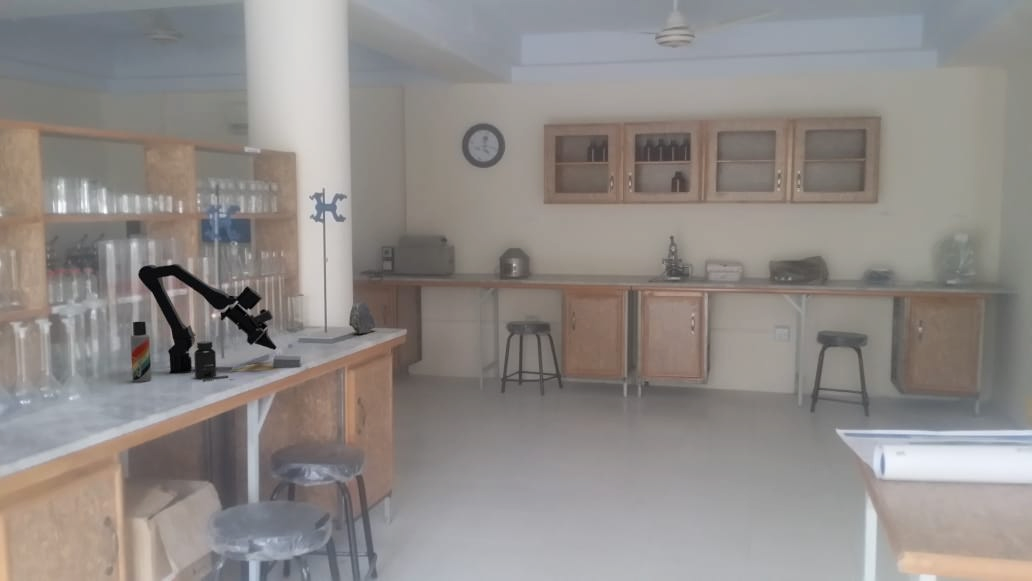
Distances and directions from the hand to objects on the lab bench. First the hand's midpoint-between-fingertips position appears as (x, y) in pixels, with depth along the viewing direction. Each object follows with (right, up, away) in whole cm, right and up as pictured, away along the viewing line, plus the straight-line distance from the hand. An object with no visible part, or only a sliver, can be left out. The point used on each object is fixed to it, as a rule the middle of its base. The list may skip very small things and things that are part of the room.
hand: (275, 348), depth 295 cm
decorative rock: (+16, +1, +80) cm, 82 cm away
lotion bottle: (-38, -9, -21) cm, 45 cm away
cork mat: (-7, -7, -1) cm, 10 cm away
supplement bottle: (-19, -9, -16) cm, 26 cm away
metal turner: (-11, -9, -18) cm, 23 cm away
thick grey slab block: (-1, -5, 0) cm, 5 cm away
